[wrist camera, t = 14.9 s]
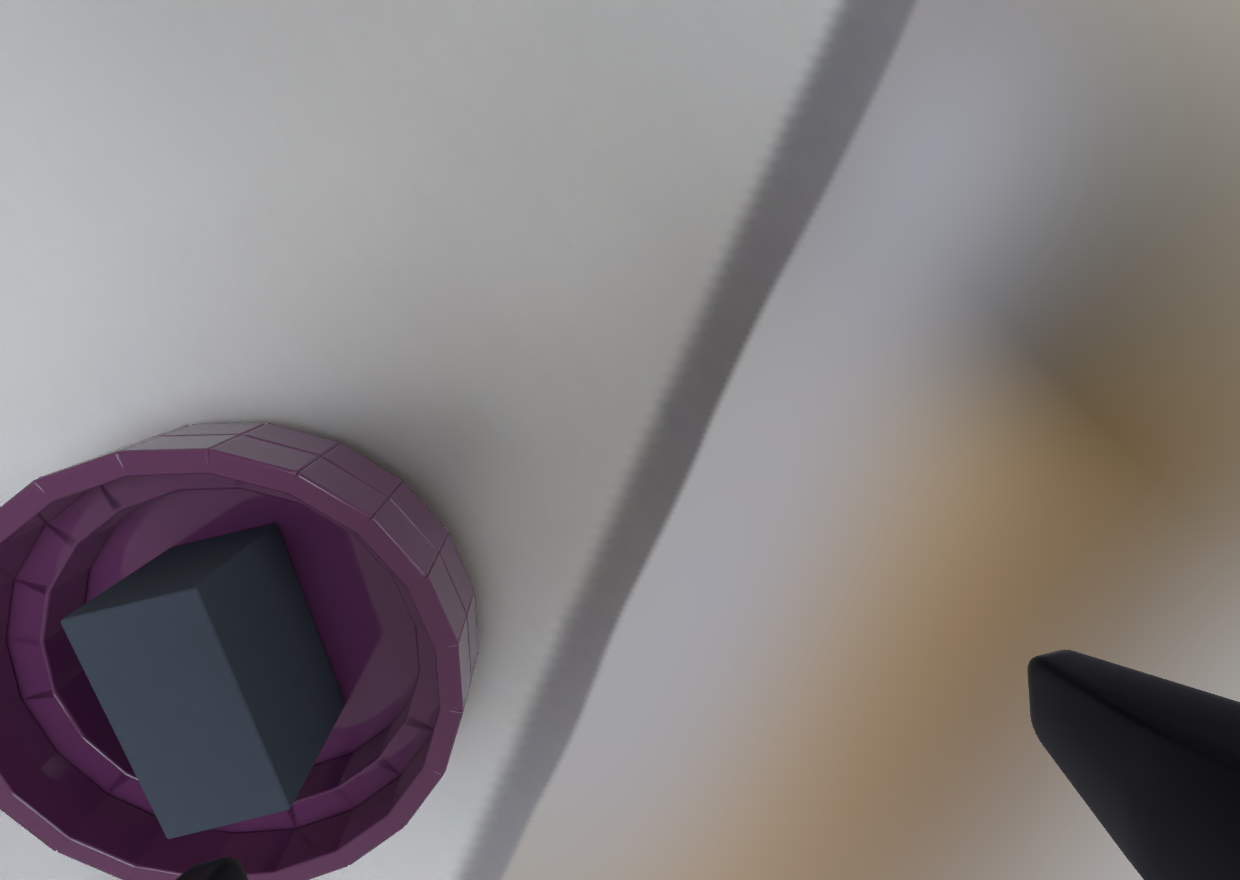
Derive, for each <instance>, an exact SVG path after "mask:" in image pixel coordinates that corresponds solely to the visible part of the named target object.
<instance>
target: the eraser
mask: <svg viewBox="0 0 1240 880" xmlns="http://www.w3.org/2000/svg"><path fill="white" fill-rule="evenodd" d="M61 625H62V627H63V629H64V631H65V633H66V635H67V637H68V639H69V641H70V643H71V645H72V647H73V649H74V651H75V653H76V655H77V657H78V659H79V661H80V663H81V665H82V667H83V669H84V672H85V674H86V676H87V678H88V680H89V682H90V684H91V686H92V688H93V690H94V692H95V694H96V696H97V698H98V700H99V702H100V704H101V706H102V708H103V710H104V712H105V714H106V716H107V718H108V720H109V722H110V724H111V726H112V728H113V730H114V732H115V734H116V736H117V738H118V740H119V742H120V744H121V746H122V748H123V751H124V753H125V755H126V757H127V759H128V761H129V763H130V765H131V767H132V769H133V771H134V773H135V775H136V777H137V779H138V781H139V783H140V785H141V787H142V789H143V791H144V793H145V795H146V797H147V799H148V801H149V803H150V805H151V807H152V809H153V811H154V813H155V815H156V817H157V819H158V821H159V823H160V825H161V828H162V830H163V832H164V834H165V836H166V838H168V839H172V838H176V837H180V836H184V835H188V834H193V833H197V832H201V831H205V830H209V829H213V828H217V827H221V826H225V825H229V824H233V823H237V822H241V821H245V820H249V819H253V818H257V817H261V816H266V815H270V814H274V813H278V812H282V811H286V810H288V809H290V808H291V806H292V804H293V803H294V801H295V799H296V797H297V795H298V793H299V791H300V789H301V787H302V786H303V784H304V782H305V780H306V778H307V776H308V774H309V772H310V771H311V769H312V767H313V765H314V763H315V761H316V759H317V757H318V755H319V754H320V752H321V750H322V748H323V746H324V744H325V742H326V740H327V738H328V737H329V735H330V733H331V731H332V729H333V727H334V725H335V723H336V721H337V720H338V718H339V716H340V714H341V712H342V710H343V708H344V706H345V702H344V699H343V696H342V694H341V691H340V689H339V686H338V683H337V681H336V678H335V675H334V673H333V670H332V668H331V665H330V662H329V660H328V657H327V655H326V652H325V649H324V647H323V644H322V641H321V639H320V636H319V634H318V631H317V628H316V626H315V623H314V620H313V618H312V615H311V613H310V610H309V607H308V605H307V602H306V599H305V597H304V594H303V592H302V589H301V586H300V584H299V581H298V579H297V576H296V573H295V571H294V568H293V565H292V563H291V560H290V558H289V555H288V552H287V550H286V547H285V544H284V542H283V539H282V537H281V534H280V531H279V529H278V526H277V524H276V523H272V524H268V525H264V526H260V527H255V528H251V529H247V530H243V531H238V532H234V533H230V534H226V535H221V536H217V537H213V538H208V539H204V540H200V541H196V542H191V543H187V544H183V545H179V546H174V547H171V548H169V549H168V550H166V551H165V552H163V553H162V554H160V555H158V556H157V557H155V558H154V559H152V560H151V561H149V562H148V563H146V564H145V565H143V566H142V567H140V568H139V569H137V570H136V571H134V572H133V573H131V574H130V575H128V576H127V577H125V578H124V579H122V580H121V581H119V582H117V583H116V584H114V585H113V586H111V587H110V588H108V589H107V590H105V591H104V592H102V593H101V594H99V595H98V596H96V597H95V598H93V599H92V600H90V601H89V602H87V603H86V604H84V605H83V606H81V607H80V608H78V609H77V610H75V611H73V612H72V613H70V614H69V615H67V616H66V617H64V618H63V619H62V620H61Z"/></svg>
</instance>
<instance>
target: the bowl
mask: <svg viewBox="0 0 1240 880" xmlns="http://www.w3.org/2000/svg"><path fill="white" fill-rule="evenodd" d="M272 523H276V524H277V526H278V529H279V531H280V534H281V537H282V539H283V542H284V544H285V547H286V550H287V552H288V555H289V558H290V560H291V563H292V565H293V568H294V571H295V573H296V576H297V579H298V581H299V584H300V586H301V589H302V592H303V594H304V597H305V599H306V602H307V605H308V607H309V610H310V613H311V615H312V618H313V620H314V623H315V626H316V628H317V631H318V634H319V636H320V639H321V641H322V644H323V647H324V649H325V652H326V655H327V657H328V660H329V662H330V665H331V668H332V670H333V673H334V675H335V678H336V681H337V683H338V686H339V689H340V691H341V694H342V696H343V699H344V702H345V706H344V708H343V710H342V712H341V714H340V716H339V718H338V720H337V721H336V723H335V725H334V727H333V729H332V731H331V733H330V735H329V737H328V738H327V740H326V742H325V744H324V746H323V748H322V750H321V752H320V754H319V755H318V757H317V759H316V761H315V763H314V765H313V767H312V769H311V771H310V772H309V774H308V776H307V778H306V780H305V782H304V784H303V786H302V787H301V789H300V791H299V793H298V795H297V797H296V799H295V801H294V803H293V804H292V806H291V808H290V809H288V810H286V811H282V812H278V813H274V814H270V815H266V816H261V817H257V818H253V819H249V820H245V821H241V822H237V823H233V824H229V825H225V826H221V827H217V828H213V829H209V830H205V831H201V832H197V833H193V834H188V835H184V836H180V837H176V838H172V839H168V838H166V836H165V834H164V832H163V830H162V828H161V825H160V823H159V821H158V819H157V817H156V815H155V813H154V811H153V809H152V807H151V805H150V803H149V801H148V799H147V797H146V795H145V793H144V791H143V789H142V787H141V785H140V783H139V781H138V779H137V777H136V775H135V773H134V771H133V769H132V767H131V765H130V763H129V761H128V759H127V757H126V755H125V753H124V751H123V748H122V746H121V744H120V742H119V740H118V738H117V736H116V734H115V732H114V730H113V728H112V726H111V724H110V722H109V720H108V718H107V716H106V714H105V712H104V710H103V708H102V706H101V704H100V702H99V700H98V698H97V696H96V694H95V692H94V690H93V688H92V686H91V684H90V682H89V680H88V678H87V676H86V674H85V672H84V669H83V667H82V665H81V663H80V661H79V659H78V657H77V655H76V653H75V651H74V649H73V647H72V645H71V643H70V641H69V639H68V637H67V635H66V633H65V631H64V629H63V627H62V625H61V620H62V619H63V618H64V617H66V616H67V615H69V614H70V613H72V612H73V611H75V610H77V609H78V608H80V607H81V606H83V605H84V604H86V603H87V602H89V601H90V600H92V599H93V598H95V597H96V596H98V595H99V594H101V593H102V592H104V591H105V590H107V589H108V588H110V587H111V586H113V585H114V584H116V583H117V582H119V581H121V580H122V579H124V578H125V577H127V576H128V575H130V574H131V573H133V572H134V571H136V570H137V569H139V568H140V567H142V566H143V565H145V564H146V563H148V562H149V561H151V560H152V559H154V558H155V557H157V556H158V555H160V554H162V553H163V552H165V551H166V550H168V549H169V548H171V547H174V546H179V545H183V544H187V543H191V542H196V541H200V540H204V539H208V538H213V537H217V536H221V535H226V534H230V533H234V532H238V531H243V530H247V529H251V528H255V527H260V526H264V525H268V524H272ZM473 591H474V589H473V587H472V584H471V582H470V580H469V577H468V575H467V573H466V570H465V568H464V566H463V563H462V561H461V559H460V556H459V554H458V552H457V550H456V547H455V545H454V543H453V540H452V538H451V536H450V534H449V533H448V531H447V530H446V528H445V527H444V526H443V525H442V524H441V523H440V522H439V521H438V519H437V518H436V517H435V516H434V515H433V514H432V513H431V512H430V510H429V509H428V508H427V507H426V506H425V505H424V504H423V503H422V501H421V500H420V499H419V498H418V497H417V496H416V495H415V494H414V492H413V491H412V490H411V489H410V488H409V487H408V486H407V485H406V483H405V482H402V480H401V479H399V478H398V477H396V476H394V475H393V474H391V473H389V472H388V471H386V470H385V469H383V468H381V467H380V466H378V465H376V464H375V463H373V462H372V461H370V460H368V459H367V458H365V457H363V456H362V455H360V454H358V453H357V452H355V451H354V450H352V449H350V448H349V447H347V446H345V445H344V444H342V443H340V444H339V443H338V442H336V441H332V440H329V439H325V438H321V437H318V436H314V435H310V434H307V433H303V432H299V431H296V430H292V429H288V428H285V427H281V426H277V425H273V424H270V423H269V424H265V423H225V424H193V425H186V426H183V427H180V428H177V429H174V430H172V431H169V432H166V433H163V434H160V435H157V436H154V437H151V438H148V439H145V440H142V441H140V442H137V443H134V444H131V445H128V446H125V447H122V448H119V449H117V450H114V451H111V452H108V453H105V454H103V455H100V456H97V457H94V458H92V459H89V460H86V461H84V462H81V463H78V464H75V465H72V466H70V467H67V468H64V469H61V470H59V471H56V472H53V473H50V474H48V475H45V476H42V477H39V478H38V479H36V480H33V481H32V482H31V483H30V484H29V485H27V486H26V487H25V488H24V489H22V490H21V491H20V492H19V493H17V494H16V495H15V496H14V497H12V498H11V499H10V500H9V501H7V502H6V503H5V504H4V505H2V506H1V507H0V809H1V810H2V811H3V812H5V813H6V814H7V815H9V816H10V817H11V818H12V819H14V820H15V821H16V822H18V823H19V824H20V825H21V826H23V827H24V828H25V829H27V830H28V831H29V832H30V833H32V834H33V835H34V836H36V837H37V838H38V839H39V840H41V841H42V842H43V843H45V844H46V845H47V846H48V847H50V848H51V849H52V850H54V851H56V850H57V852H58V853H61V854H63V855H65V856H68V857H70V858H72V859H75V860H77V861H79V862H82V863H84V864H86V865H89V866H91V867H93V868H96V869H98V870H101V871H103V872H105V873H108V874H110V875H112V876H115V877H117V878H119V879H122V880H176V879H177V878H178V877H180V876H181V875H182V874H183V873H184V872H185V871H187V870H188V869H189V868H191V867H192V866H194V865H197V864H199V863H203V862H207V861H211V860H215V859H219V858H223V857H234V858H236V859H237V860H238V861H240V863H241V864H242V866H243V868H244V871H245V873H246V875H247V877H248V879H249V880H310V879H312V878H315V877H318V876H321V875H324V874H327V873H330V872H333V871H336V870H339V869H342V868H344V867H347V866H348V865H351V864H352V863H354V862H355V861H357V860H358V859H360V858H361V857H362V856H364V855H365V854H367V853H368V852H370V851H371V850H372V849H374V848H375V847H377V846H378V845H379V844H381V843H382V842H384V841H385V840H387V839H388V838H389V837H391V836H392V835H394V834H395V833H397V832H398V831H399V830H401V829H402V828H403V827H404V826H405V825H407V823H408V822H409V821H410V819H411V818H412V817H413V815H414V814H415V813H416V811H417V810H418V809H419V807H420V806H421V805H422V803H423V802H424V801H425V799H426V798H427V796H428V795H429V794H430V792H431V791H432V790H433V788H434V787H435V786H436V784H437V783H438V782H439V780H440V779H441V778H442V776H443V775H444V773H445V771H446V768H447V764H448V761H449V758H450V754H451V751H452V748H453V744H454V741H455V738H456V734H457V731H458V727H459V724H460V721H461V717H462V714H463V710H464V706H465V702H466V698H467V694H468V690H469V686H470V682H471V678H472V674H473V670H474V666H475V662H476V657H477V653H478V641H477V626H476V611H475V596H474V592H473Z"/></svg>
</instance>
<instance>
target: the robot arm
mask: <svg viewBox="0 0 1240 880" xmlns="http://www.w3.org/2000/svg"><path fill="white" fill-rule="evenodd" d="M1028 686H1029V700H1030V715H1031V721H1032V725H1033V728H1034V730H1035V733H1036V735H1037V736H1038V738H1039V740H1040V742H1041V743H1042V745H1043V746H1044V747H1045V749H1046V750H1047V751H1048V753H1049V754H1050V755H1051V757H1052V758H1053V759H1054V760H1055V762H1056V763H1057V765H1058V766H1059V767H1060V769H1061V770H1062V771H1063V773H1064V774H1065V775H1066V777H1067V778H1068V779H1069V781H1070V782H1071V784H1072V785H1073V786H1074V788H1075V789H1076V790H1077V792H1078V793H1079V794H1080V796H1081V797H1082V798H1083V800H1084V801H1085V802H1086V804H1087V805H1088V806H1089V807H1090V809H1091V810H1092V812H1093V813H1094V814H1095V816H1096V817H1097V818H1098V820H1099V821H1100V822H1101V824H1102V825H1103V826H1104V828H1105V829H1106V831H1107V832H1108V833H1109V834H1110V836H1111V837H1112V839H1113V840H1114V841H1115V843H1116V844H1117V845H1118V847H1119V848H1120V849H1121V851H1122V852H1123V853H1124V855H1125V856H1126V857H1127V859H1128V860H1129V861H1130V862H1131V864H1132V865H1133V866H1134V868H1135V869H1136V870H1137V871H1138V873H1139V874H1140V875H1141V877H1142V878H1143V879H1144V880H1240V702H1237V701H1234V700H1231V699H1227V698H1224V697H1221V696H1218V695H1215V694H1211V693H1208V692H1205V691H1202V690H1198V689H1195V688H1191V687H1189V686H1185V685H1182V684H1179V683H1175V682H1172V681H1169V680H1166V679H1162V678H1159V677H1156V676H1153V675H1149V674H1146V673H1143V672H1140V671H1137V670H1133V669H1130V668H1127V667H1124V666H1120V665H1117V664H1114V663H1110V662H1107V661H1104V660H1101V659H1098V658H1095V657H1091V656H1088V655H1085V654H1082V653H1078V652H1075V651H1071V650H1059V651H1055V652H1051V653H1047V654H1043V655H1039V656H1036V657H1034V658H1032V659H1031V660H1030V662H1029V664H1028ZM176 880H249V879H248V877H247V875H246V873H245V871H244V868H243V866H242V864H241V863H240V861H238V860H237V859H236V858H234V857H223V858H219V859H215V860H211V861H207V862H203V863H199V864H197V865H194V866H192V867H191V868H189V869H188V870H187V871H185V872H184V873H183V874H182V875H181V876H180V877H178V878H177V879H176Z"/></svg>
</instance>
